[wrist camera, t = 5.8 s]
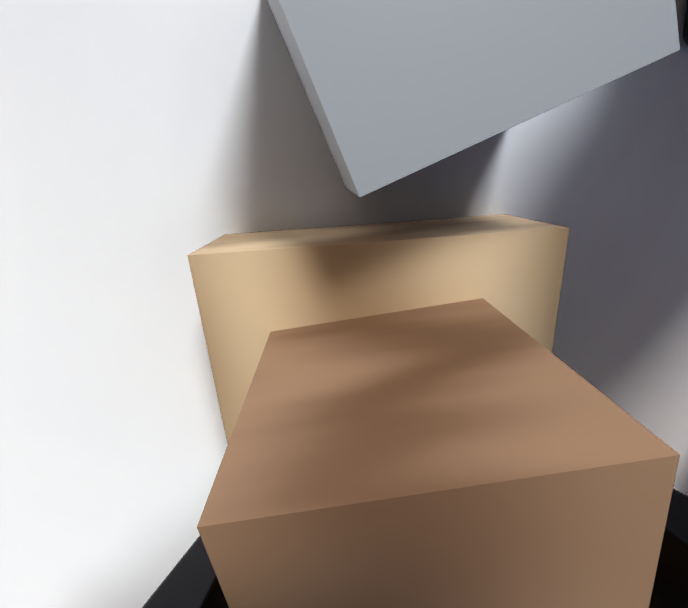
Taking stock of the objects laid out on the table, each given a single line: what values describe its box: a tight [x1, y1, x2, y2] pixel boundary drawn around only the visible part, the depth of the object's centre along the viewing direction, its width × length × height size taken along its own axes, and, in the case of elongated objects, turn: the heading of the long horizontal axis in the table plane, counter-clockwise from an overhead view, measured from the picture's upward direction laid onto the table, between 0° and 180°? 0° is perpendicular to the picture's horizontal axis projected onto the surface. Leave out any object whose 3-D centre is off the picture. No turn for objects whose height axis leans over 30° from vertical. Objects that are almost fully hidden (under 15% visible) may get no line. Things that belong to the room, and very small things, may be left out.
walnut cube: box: [197, 298, 680, 608], centre depth 8 cm, size 6×6×6 cm
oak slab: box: [188, 214, 570, 443], centre depth 13 cm, size 10×10×4 cm
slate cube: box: [267, 0, 680, 197], centre depth 8 cm, size 6×6×6 cm
